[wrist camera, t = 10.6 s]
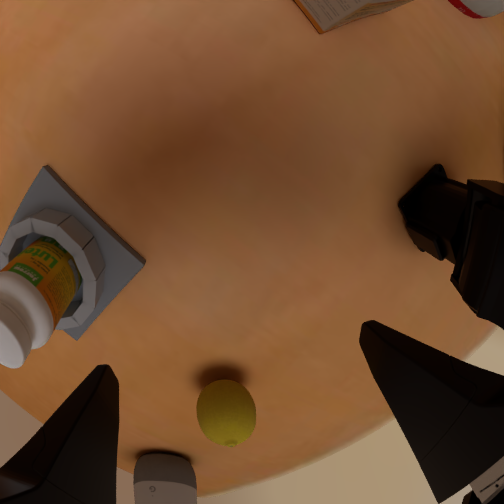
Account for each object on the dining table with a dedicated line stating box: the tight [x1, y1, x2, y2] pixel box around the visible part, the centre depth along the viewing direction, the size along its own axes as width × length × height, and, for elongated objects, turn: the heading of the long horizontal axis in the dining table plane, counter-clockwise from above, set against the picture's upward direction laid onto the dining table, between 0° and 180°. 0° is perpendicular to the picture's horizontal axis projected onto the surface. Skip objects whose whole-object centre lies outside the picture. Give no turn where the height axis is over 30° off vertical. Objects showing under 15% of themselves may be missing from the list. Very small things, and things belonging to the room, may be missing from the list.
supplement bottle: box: [0, 236, 83, 368], centre depth 14 cm, size 5×5×10 cm
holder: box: [0, 165, 146, 340], centre depth 18 cm, size 11×11×3 cm
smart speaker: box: [134, 452, 197, 504], centre depth 27 cm, size 10×9×14 cm
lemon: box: [197, 379, 256, 447], centre depth 24 cm, size 6×6×8 cm
